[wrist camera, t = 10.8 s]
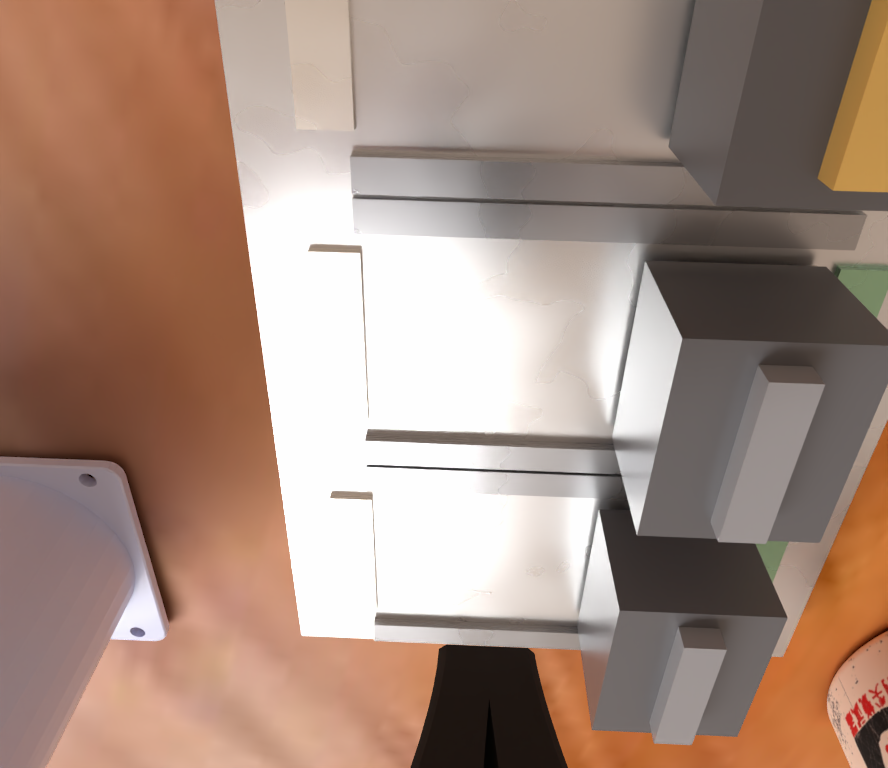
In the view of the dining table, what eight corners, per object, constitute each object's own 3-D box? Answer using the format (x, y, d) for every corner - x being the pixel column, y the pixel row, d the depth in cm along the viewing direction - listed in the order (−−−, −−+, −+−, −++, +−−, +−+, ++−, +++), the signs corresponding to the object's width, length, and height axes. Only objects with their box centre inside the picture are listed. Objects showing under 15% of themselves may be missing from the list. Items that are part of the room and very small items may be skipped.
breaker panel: (308, 606, 25) (299, 643, 24) (199, -272, 13) (168, -291, 11) (770, 626, 25) (786, 664, 24) (1132, -253, 12) (1206, -271, 11)
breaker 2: (577, 625, 23) (594, 750, 20) (598, 509, 20) (623, 631, 17) (704, 631, 23) (743, 757, 20) (742, 514, 20) (797, 638, 17)
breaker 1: (612, 438, 19) (641, 555, 15) (645, 260, 16) (690, 355, 13) (766, 444, 19) (830, 563, 15) (826, 266, 16) (920, 363, 13)
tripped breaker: (668, 146, 15) (726, 219, 11) (725, -159, 12) (825, -186, 9) (866, 152, 15) (985, 227, 11) (969, -154, 12) (1167, -179, 9)
